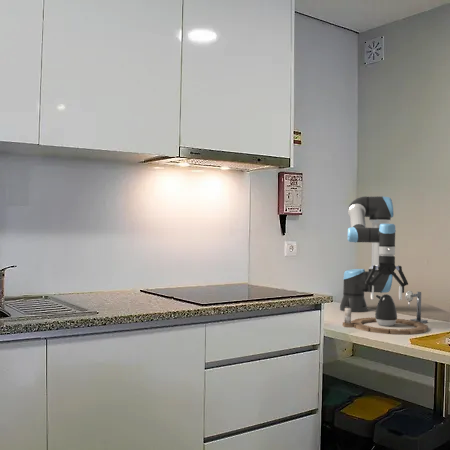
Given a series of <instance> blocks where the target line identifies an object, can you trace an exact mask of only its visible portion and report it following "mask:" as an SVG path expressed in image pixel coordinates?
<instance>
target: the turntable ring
mask: <svg viewBox="0 0 450 450" xmlns="http://www.w3.org/2000/svg"><path fill="white" fill-rule="evenodd" d="M367 323H377V321H376V318H375V317H361V318H355V319H353V320H352V312H351V308H345V311H344V321H343V322H342V326H343V327H344V328H355V329H357V330H361V331H365V332H367V333H368V332H370V333H379V334H386V335H389V334H390V335H417V334H424V333H425V332H427V331H428V330H429V326H428V325H426V323H421V322H416V321H411V320H410V319H405V318H404V319H403V318H397V320H396V323H395V324H401V325H406V326H407V325H408V326H412V327H413V328H412V327H411V328H385V327H383V328H382V327H376V326H372V325H371V326H370V325H366V324H367Z"/></svg>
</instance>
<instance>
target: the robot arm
mask: <svg viewBox="0 0 450 450" xmlns="http://www.w3.org/2000/svg"><path fill="white" fill-rule="evenodd" d="M347 214H348V216H349V218H350V220H349V221H350V227H348V228H347V241H348V242H349V243H370V244H371V262H370V263H371V265H370V266H369V267H368V271H366V270H365V268H353V269H347V270H345V271H344V272H343V277H342V280H343V294H342V298H341V302H340V306H339V310H340V311H343V310H344V312H345V308H351V313H352V312H354V313H362V312H367V311H368V306H367V305H368V304H367V301H366V299H365V293H370V299H371V300H374V297H375V293H380V294H382V293H384V294H386V293H389V292H390V291H391V288H392V283H393V277H394V279H395V280H396V282H397V283H399V286H398V300H399V301H403V294H404V293H405V286H408V285H409V282H408V280H407V277H406V276H405V274H404V271H403V268H402V266H401V265H396V257H395V256H396V255H395V254H396V232H397V231H396V224H394V223H390V222H391V218H394V205H393V200H392V198H391V196H383V195H382V196H359V197H358V198H356V199H354V200H353V201H351V203H349V205H348V207H347ZM365 218H369V222H370V223H371V227H367V226H366V219H365ZM395 270H397V271H398V274H399V276H398V275H397V273H396V272H395Z"/></svg>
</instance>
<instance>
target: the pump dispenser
mask: <svg viewBox="0 0 450 450" xmlns="http://www.w3.org/2000/svg"><path fill="white" fill-rule="evenodd" d="M375 298H377V299H379V300H378V302H377V306H376V309H375V314H374V315H375V316H374V318H376V321H377V322H376V323H377V324H378V326H381V327H393V326H395V324H397V323H396V320H397V319H398V311H397V307H396V304H395V301H394V298H393V297H392V296H391V295H390V294H386V293H384V294H382V296H380V295H378V294H376V295H375Z"/></svg>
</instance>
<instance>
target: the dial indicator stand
mask: <svg viewBox="0 0 450 450" xmlns="http://www.w3.org/2000/svg"><path fill="white" fill-rule="evenodd" d="M404 296H405V300H406V302H408V310H410V309H411V301H413V300H414V298H416V318H412V319H411V318H410V319H409V320H411V321H416V322H421V323H423V324H428V320H427V319H422V291H416V293H413V291H412V290H407V291H406V292H405V295H404Z"/></svg>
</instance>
